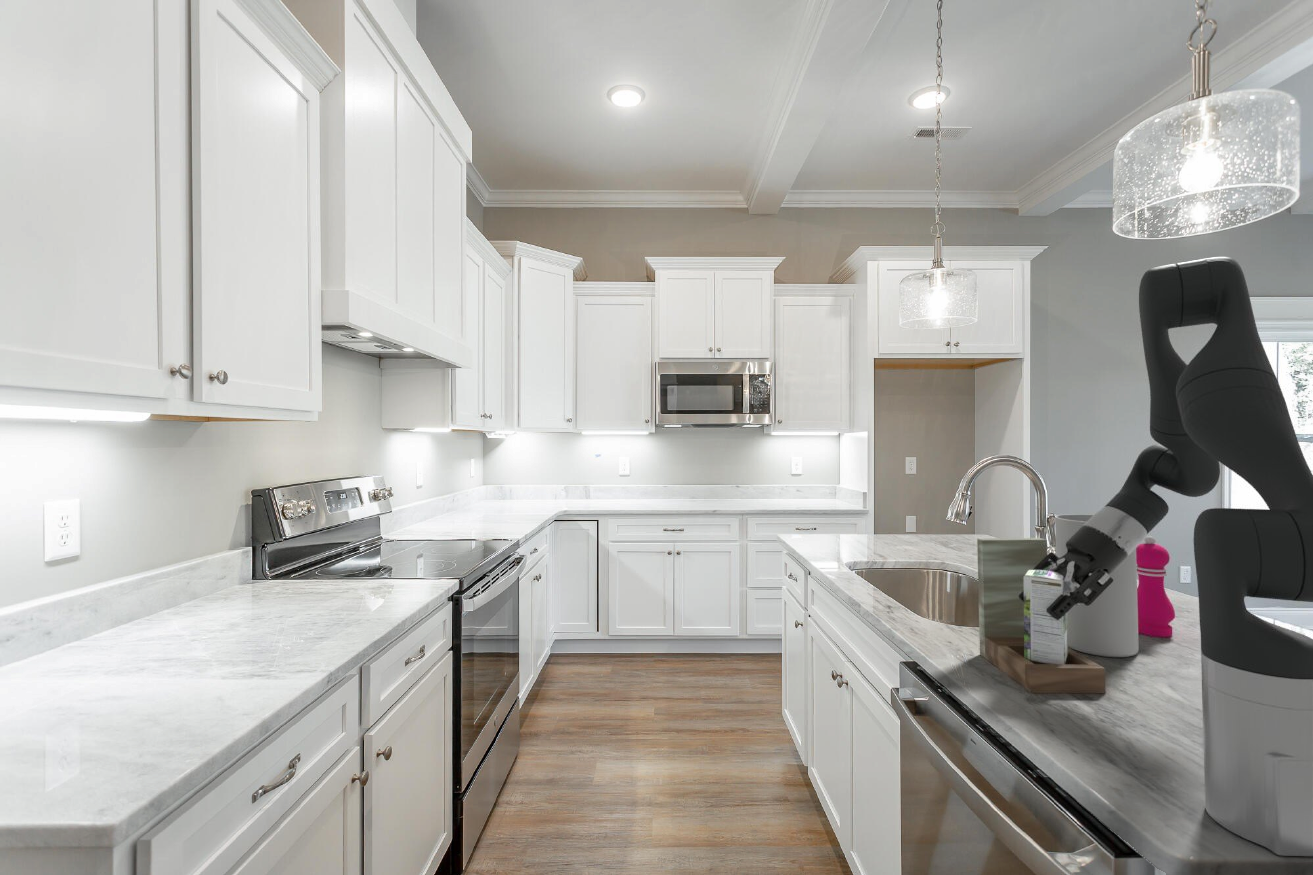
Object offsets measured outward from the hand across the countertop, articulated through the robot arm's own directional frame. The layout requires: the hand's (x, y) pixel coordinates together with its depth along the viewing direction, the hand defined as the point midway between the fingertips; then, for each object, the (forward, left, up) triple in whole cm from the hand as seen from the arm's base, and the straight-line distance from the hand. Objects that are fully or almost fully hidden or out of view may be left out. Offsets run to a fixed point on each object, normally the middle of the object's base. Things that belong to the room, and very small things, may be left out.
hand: (1036, 608), depth 99 cm
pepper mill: (+24, -36, -12) cm, 45 cm away
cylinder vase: (+15, -20, -12) cm, 28 cm away
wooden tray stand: (+3, -1, -12) cm, 12 cm away
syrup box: (0, -2, -9) cm, 9 cm away
